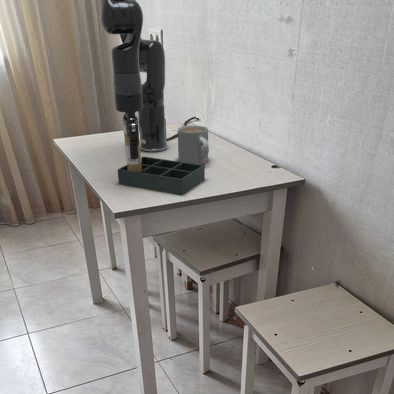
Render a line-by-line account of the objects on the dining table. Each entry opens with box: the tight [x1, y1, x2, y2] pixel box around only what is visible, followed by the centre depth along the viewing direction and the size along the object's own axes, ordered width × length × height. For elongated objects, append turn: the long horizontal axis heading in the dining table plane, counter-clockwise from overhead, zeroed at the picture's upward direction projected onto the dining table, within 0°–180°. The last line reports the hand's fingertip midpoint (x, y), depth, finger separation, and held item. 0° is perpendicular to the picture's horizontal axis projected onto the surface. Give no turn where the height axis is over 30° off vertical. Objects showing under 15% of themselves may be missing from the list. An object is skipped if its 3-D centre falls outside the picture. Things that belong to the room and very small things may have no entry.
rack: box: [116, 156, 206, 196], centre depth 143 cm, size 15×22×4 cm
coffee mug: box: [177, 124, 210, 165], centre depth 157 cm, size 13×10×10 cm
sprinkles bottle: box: [122, 124, 142, 172], centre depth 139 cm, size 5×5×14 cm
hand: (133, 156), depth 140 cm, fingers closed on sprinkles bottle, 4 cm apart
